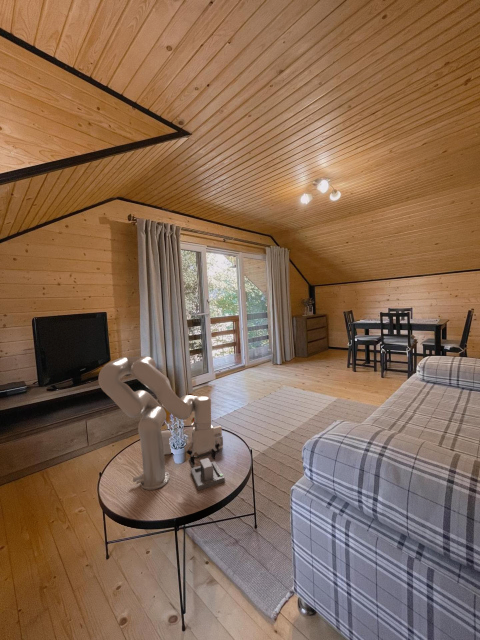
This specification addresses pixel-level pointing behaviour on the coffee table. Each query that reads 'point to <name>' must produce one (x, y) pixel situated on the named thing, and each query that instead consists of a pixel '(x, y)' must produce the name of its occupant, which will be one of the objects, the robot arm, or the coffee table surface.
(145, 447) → the robot arm
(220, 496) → the coffee table surface
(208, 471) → the grey rectangular block
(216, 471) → the charging cradle
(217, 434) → the plate
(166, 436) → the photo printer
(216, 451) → the dark piece
